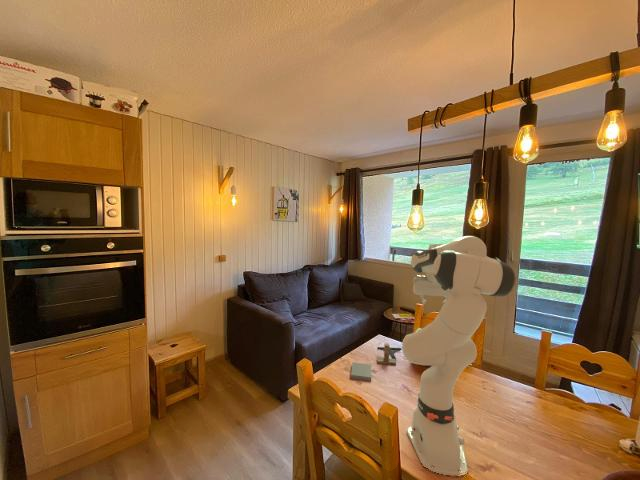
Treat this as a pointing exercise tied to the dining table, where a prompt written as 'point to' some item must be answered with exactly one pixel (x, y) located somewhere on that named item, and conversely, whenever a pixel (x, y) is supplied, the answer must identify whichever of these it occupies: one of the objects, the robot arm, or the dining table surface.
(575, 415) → the dining table surface
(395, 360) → the bracket
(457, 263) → the robot arm
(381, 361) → the inverted t stand
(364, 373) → the tile
